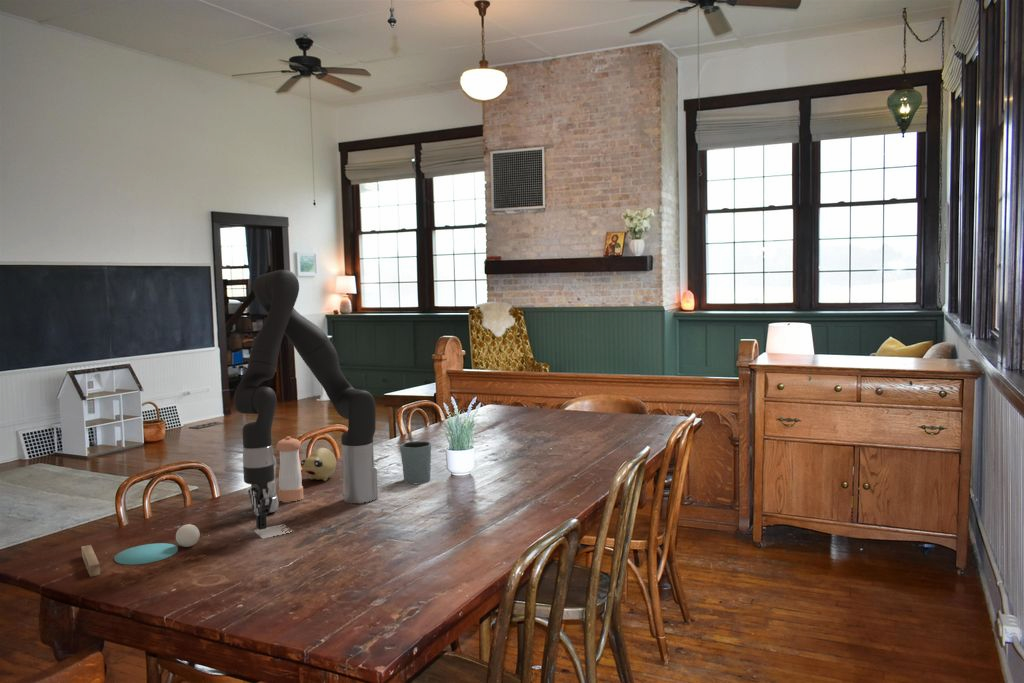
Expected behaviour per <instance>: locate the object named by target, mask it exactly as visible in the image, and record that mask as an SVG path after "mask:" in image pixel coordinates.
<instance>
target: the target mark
mask: <svg viewBox="0 0 1024 683" xmlns="http://www.w3.org/2000/svg"><path fill="white" fill-rule="evenodd" d="M178 551H179V548H178V546H177V545H175V544H172V543H166V542H161V543H158V542H157V543H146V544H142V545H136V546H133V547H129V548H127V549H124V550H122V551H120V552H119V553H117V554H116V555H115V556H114V558H113V559H114V561H115V563H117V564H121V565H125V566H126V565H127V566H129V565H131V566H134V565H144V564H145V565H146V564H150V563H157V562H159V561H162V560H165V559H168V558H170V557H172V556H174V555H176V553H178Z"/></svg>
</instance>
